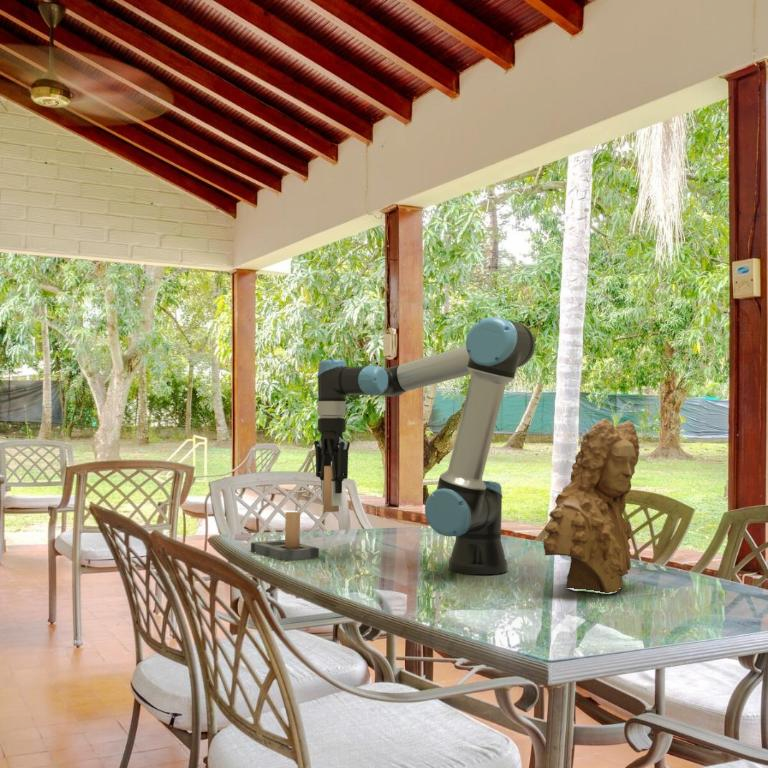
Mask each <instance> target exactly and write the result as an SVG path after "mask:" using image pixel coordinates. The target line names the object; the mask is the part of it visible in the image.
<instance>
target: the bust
mask: <svg viewBox="0 0 768 768" xmlns="http://www.w3.org/2000/svg"><path fill="white" fill-rule="evenodd" d="M582 438H583V439H582V441H581V442H580V447H579V448H580V450H579V451H578V453H577V454H576V455H575V463H573V464H572V466H571V469H572V471H571V472H570V482H569V484H568V485H566V486H565V487H563V489H562V492H561V493H558V494H557V496H556V498H555V505H556V506H555V507H554V508H553V510H551V511H550V512H549V514H548V516H549V517H550V518H551V521H550V522H548V523H547V524H546V525H545V526H544V527H545V528H544V531H545V532H547V534H546V539H545V540H544V541H543V549H544V556H564V557H565V556H566V557H570V566H569V570H568V573H567V576H566V587H565V589H566V588H574V589H586V590H594V591H600V592H605V593H609V592H615V591H618V590H619V588H622V589H623V577H624V576H625V575H628V574H629V572H628V571H630V570H631V567H632V562H631V551H630V549H631V545H630V543H629V540H630V539H632V537H633V532H632V525H631V524H630V522H629V521H625V518H624V515H623V514H624V512H625V509H626V507H627V505H626V497H627V495H628V494H629V493H630V491H631V488H632V481H631V480H632V478H633V476H634V474H635V473H636V471H635V469H636V468H635V467H636V465H637V464H638V462H639V455H640V442H639V436H638V434H637V430H636V428H635V425H634V423H633V422H632V421H631V420H630V419H628V420H625V421H624V422H621V423H618V424H616V425H615V426H614V423H613V422H611V421H610V420H609V419H608V418H607V417H605V418H601V419H600V421H598V422H595V423H594V424H593V426H592V427H590V429H588V431H587V432H586V433H585V434H584V435H583V437H582ZM619 591H620V590H619Z"/></svg>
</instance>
